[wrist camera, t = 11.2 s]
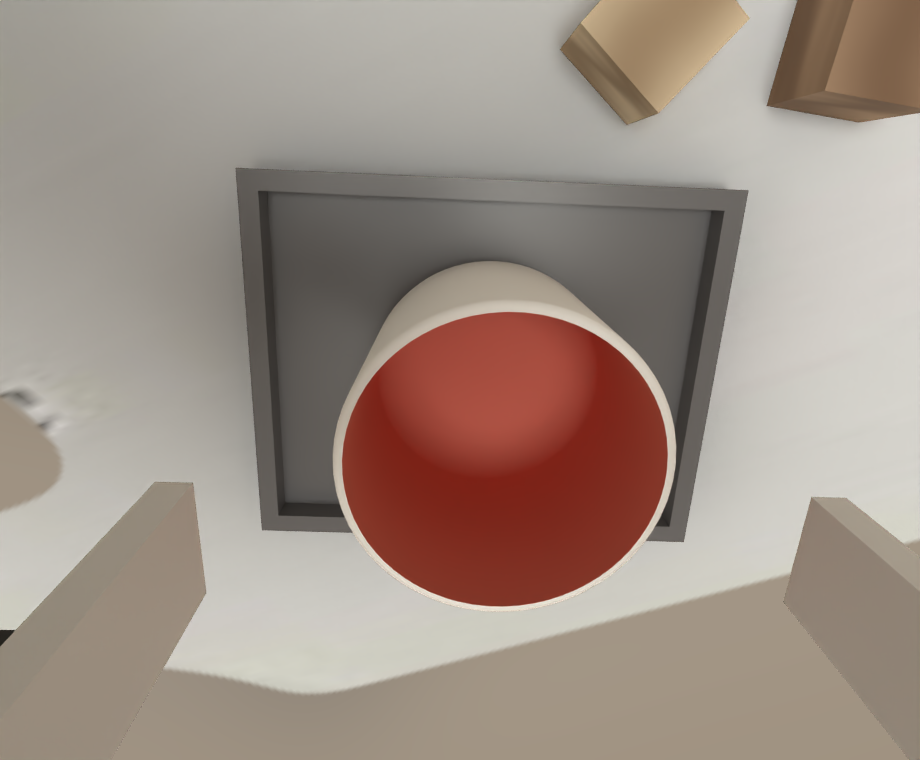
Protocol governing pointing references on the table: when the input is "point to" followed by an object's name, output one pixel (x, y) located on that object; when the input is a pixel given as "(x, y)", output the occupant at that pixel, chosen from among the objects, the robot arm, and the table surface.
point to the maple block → (649, 48)
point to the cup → (502, 442)
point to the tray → (447, 245)
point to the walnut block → (851, 60)
